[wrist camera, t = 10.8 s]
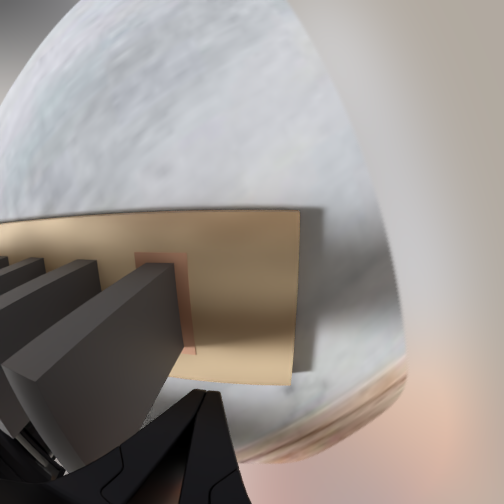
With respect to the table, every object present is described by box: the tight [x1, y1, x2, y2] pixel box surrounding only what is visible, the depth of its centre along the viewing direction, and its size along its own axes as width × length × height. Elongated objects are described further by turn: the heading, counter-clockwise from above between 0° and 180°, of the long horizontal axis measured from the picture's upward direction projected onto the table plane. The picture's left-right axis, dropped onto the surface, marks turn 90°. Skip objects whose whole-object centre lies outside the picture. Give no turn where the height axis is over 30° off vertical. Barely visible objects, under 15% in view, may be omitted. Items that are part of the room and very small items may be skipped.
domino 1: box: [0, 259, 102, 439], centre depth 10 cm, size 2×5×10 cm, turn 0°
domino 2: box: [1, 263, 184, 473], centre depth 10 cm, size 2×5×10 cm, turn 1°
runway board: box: [0, 210, 300, 385], centre depth 16 cm, size 10×29×1 cm, turn 90°
